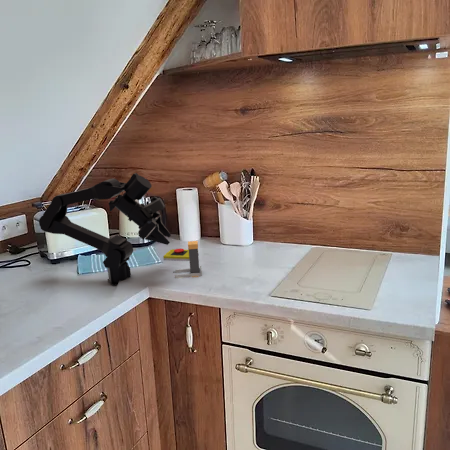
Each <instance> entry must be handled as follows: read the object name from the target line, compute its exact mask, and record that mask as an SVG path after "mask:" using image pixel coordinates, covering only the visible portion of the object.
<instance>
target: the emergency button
mask: <svg viewBox="0 0 450 450" xmlns="http://www.w3.org/2000/svg"><path fill="white" fill-rule="evenodd" d="M198 257H200V256H199V253H198ZM162 259H163V261H179V262H180V261H182V262H183V261H184V262H185V261H186V262H190V261H189V249H184V248H176V249H175V248H174V249H173V248H172V249H169V251H167V252H166V253H165V254H164V255H163V257H162Z"/></svg>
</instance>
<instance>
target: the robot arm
mask: <svg viewBox="0 0 450 450" xmlns="http://www.w3.org/2000/svg"><path fill="white" fill-rule="evenodd" d="M150 189H152V184H151V182H150V181H149V179H147V178H145V177H144V176H143V175H139V174H138V173H137V172H135V173H133V174H132V175H131V176H130V178H129V179H128V181H127V182H121V181H119V180H118V179H116V178H109V179H106V180H103V181H100V182H98V183H97V184H95V185H92V186H90V187H88V188H83V189H79V190H75V191H70V192H66V193H60V194H57V195H55V196H54V197H53V198H52V200H51V201H50V204H49V205H48V207H47V208H46V209H45V211H44V212H43V214H42V215H41V216H40V218H39V220H38V225H39V227H40V230H41V231H43V232H45V233H49V234H54V235H65V236H67V237H69V238H71V239H74V240H76V241H79V242H80V243H82V244H85V245H87V246H89V247H92V248H94V249H96V250H99V251H101V252H102V253H103V255H104V256H105V257H106V258H105V259H104V260H103V261H102V264H103V266H104V267H105V269H106V268H107V275H108V278H107V282H108V283H109V284H110V285H111V286H118V285H119V282H121V281H125V280H127V279H129V278H131V277H132V275H131V273H132V272H131V266H130V265H129V262H128V261H129V260H130V257H131V256H132V255H133V253H134V246H133V243H131V242H130V241H129V240H128V238H124V237H122V236H120V235H119V234H118V235H117V234H115V235H114V236H113V237H107V236H104V235H102V234H100V233H97V232H95V231H93V230H91V229H88V228H86V227H84V226H81V225H78V224H76V223H74V222H72V221H71V219H70V218H69V217H68V216H67V213H68V207H69V205H73V204H76V203H77V204H78V203H81V202H85V201H90V200H110V199H112V198H114V197H115V199H114V200H110V201H109V202H108V207H109V212H112V211H113V210H114V209H115V208H116V209H117V210H118V211H120V212H121V213H122V214H123V215H124V216H126V217H127V218H128V219H127V220H128V221H129V222H133V223H134V224H136V226H138V227H137V228H138V229H139V230H138V231H137V233H138V237H139V238H140V239H142V240H143V241H144V240H146V241H152V242H156V243H159V244H163V245H166V246H168V245H169V244H170V243H171V242H170V240H169V239H168V238H170V237H171V236H172V234H171V232H170V231H169V230H168V229H167V227H166V226H165V224H164V223H163V221H162V215H161V213H160V211H162V210H164V209H165V207H166V205H165V204H164V202H163V199H162V197H157V196H153V197H151V198H150V202H148V203H147V204H146V205H145V204H144V203H139V202H138V201H141V200H142V198H143V197H144V196H145V195H146V194H147V193H148V192H149V191H150ZM123 192H124V193H123ZM121 193H123V195H122V194H121Z"/></svg>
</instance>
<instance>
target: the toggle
mask: <svg viewBox="0 0 450 450" xmlns="http://www.w3.org/2000/svg"><path fill="white" fill-rule="evenodd" d="M187 250H189V261H188V262H189V268H190V272H189V274H191V273H200V259H199V257H200V256H198V254H199V241H198V240H194V241H193V240H191V241H187ZM200 274H201V273H200Z"/></svg>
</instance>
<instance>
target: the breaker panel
mask: <svg viewBox="0 0 450 450" xmlns="http://www.w3.org/2000/svg"><path fill="white" fill-rule="evenodd" d="M199 268H200V273H191V274H190V267H189V268H179V269H178V268H177V269H174V271H172V273H173V274H174V273H175V274H174V279H185V278H199V277H201V276H202V275H203V272H202V271H203V270H202V269H203V268H202V265H199Z"/></svg>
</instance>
